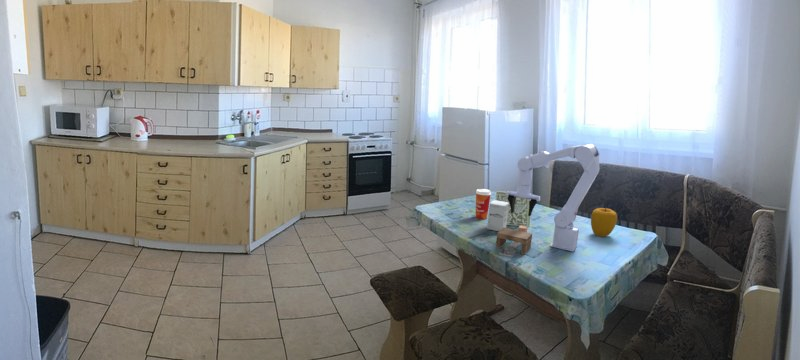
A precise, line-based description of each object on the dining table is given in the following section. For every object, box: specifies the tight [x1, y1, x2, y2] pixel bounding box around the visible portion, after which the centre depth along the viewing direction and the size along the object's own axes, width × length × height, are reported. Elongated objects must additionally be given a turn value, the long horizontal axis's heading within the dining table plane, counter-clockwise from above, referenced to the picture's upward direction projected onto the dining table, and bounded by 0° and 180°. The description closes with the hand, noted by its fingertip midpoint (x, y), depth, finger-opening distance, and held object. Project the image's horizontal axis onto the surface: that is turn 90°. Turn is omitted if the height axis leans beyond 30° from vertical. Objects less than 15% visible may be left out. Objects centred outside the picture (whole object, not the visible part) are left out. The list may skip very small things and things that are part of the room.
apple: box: [590, 207, 618, 238], centre depth 204 cm, size 11×11×13 cm
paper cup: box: [475, 188, 492, 221], centre depth 222 cm, size 8×8×14 cm
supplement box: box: [486, 199, 510, 232], centre depth 207 cm, size 7×7×13 cm
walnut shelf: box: [495, 227, 533, 255], centre depth 185 cm, size 12×8×6 cm, turn 59°
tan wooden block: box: [505, 225, 528, 252], centre depth 188 cm, size 3×18×6 cm, turn 148°
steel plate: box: [498, 248, 516, 258], centre depth 179 cm, size 5×5×1 cm
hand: (521, 213), depth 199 cm, fingers open, 7 cm apart
